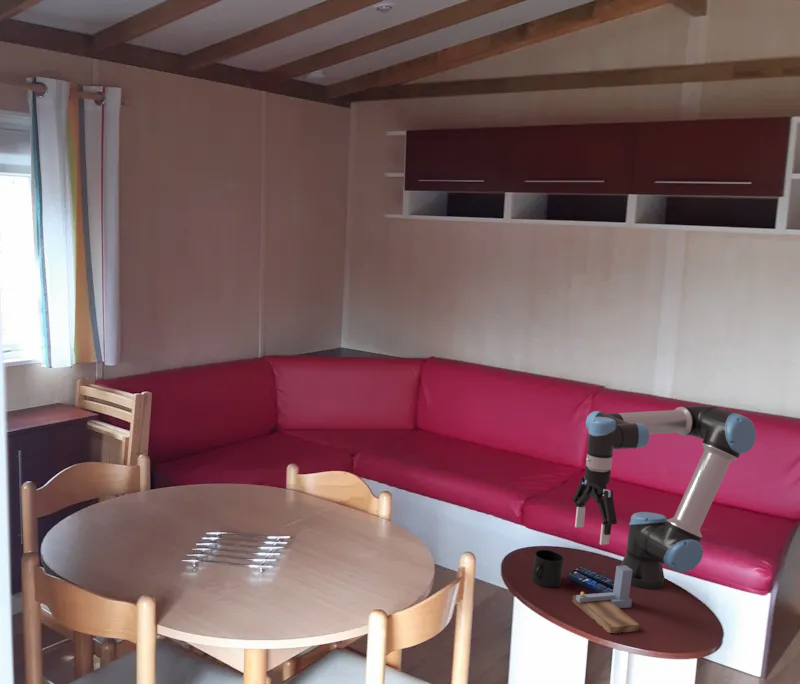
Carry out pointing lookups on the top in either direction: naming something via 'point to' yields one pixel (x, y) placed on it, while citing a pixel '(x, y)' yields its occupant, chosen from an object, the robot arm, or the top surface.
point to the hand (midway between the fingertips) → (591, 535)
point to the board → (608, 616)
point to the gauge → (614, 590)
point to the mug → (547, 568)
